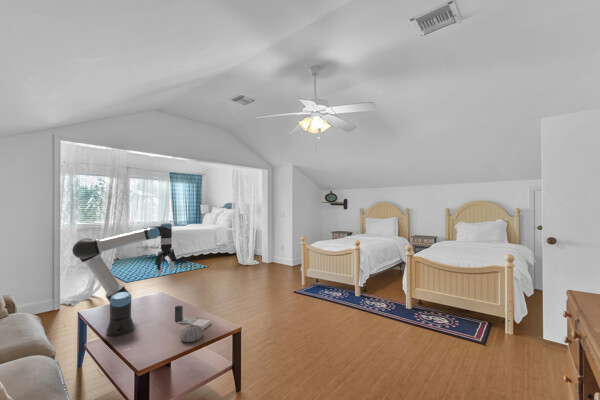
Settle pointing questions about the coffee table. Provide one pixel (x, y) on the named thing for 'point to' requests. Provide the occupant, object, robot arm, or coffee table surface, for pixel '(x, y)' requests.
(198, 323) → the tile
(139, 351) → the coffee table surface
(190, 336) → the sea urchin shell
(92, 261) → the robot arm
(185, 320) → the grey l-shaped block
